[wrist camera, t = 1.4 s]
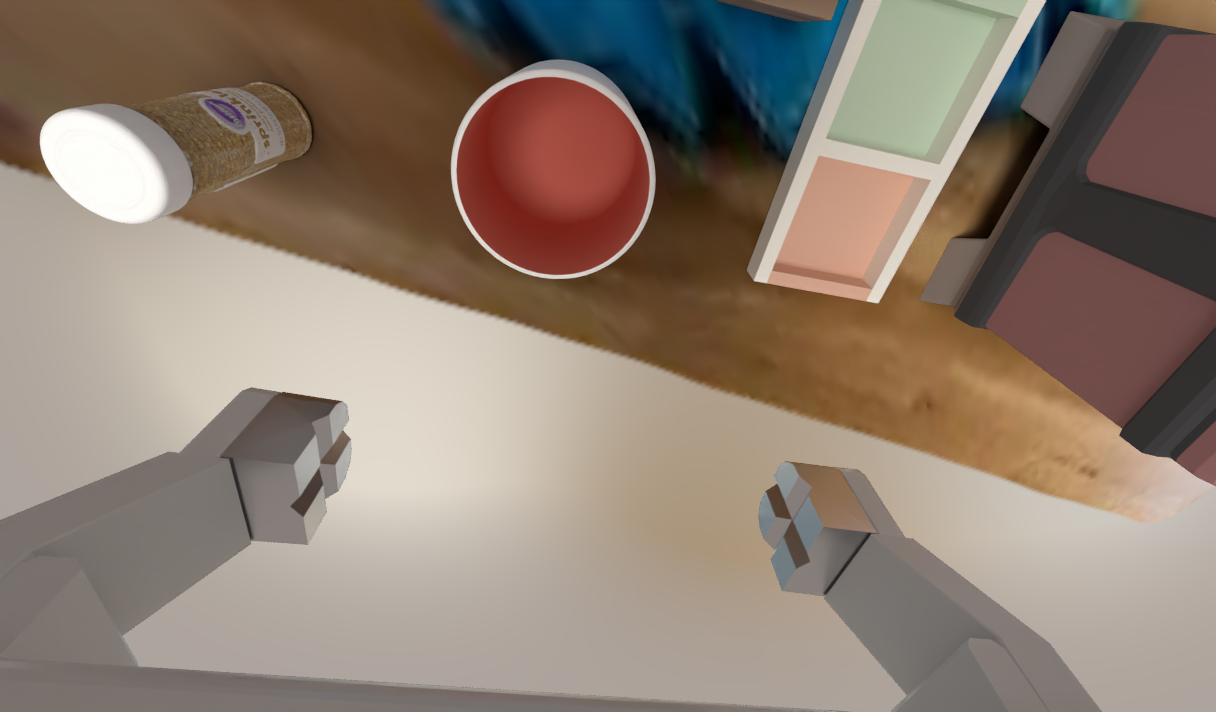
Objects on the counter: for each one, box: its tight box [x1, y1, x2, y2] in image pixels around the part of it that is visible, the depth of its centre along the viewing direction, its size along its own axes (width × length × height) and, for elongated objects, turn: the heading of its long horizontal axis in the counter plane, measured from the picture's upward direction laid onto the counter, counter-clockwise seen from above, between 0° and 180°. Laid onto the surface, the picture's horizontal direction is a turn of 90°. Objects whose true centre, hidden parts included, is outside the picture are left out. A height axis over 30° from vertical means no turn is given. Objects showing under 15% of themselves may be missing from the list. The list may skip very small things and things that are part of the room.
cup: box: [451, 60, 655, 279], centre depth 29 cm, size 10×10×10 cm
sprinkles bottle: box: [40, 82, 312, 224], centre depth 26 cm, size 5×5×13 cm
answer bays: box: [747, 0, 1046, 303], centre depth 33 cm, size 19×10×2 cm, turn 169°
